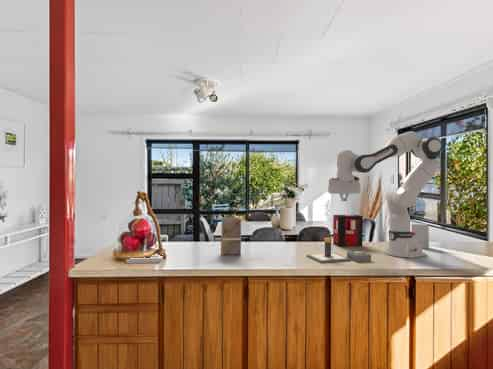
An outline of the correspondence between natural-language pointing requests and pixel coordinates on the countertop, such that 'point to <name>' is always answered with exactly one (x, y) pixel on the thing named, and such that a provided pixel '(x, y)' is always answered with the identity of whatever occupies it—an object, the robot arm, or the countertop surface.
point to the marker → (327, 247)
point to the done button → (358, 253)
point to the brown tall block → (231, 236)
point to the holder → (146, 259)
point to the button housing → (359, 257)
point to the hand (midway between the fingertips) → (344, 201)
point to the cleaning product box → (347, 230)
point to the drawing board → (328, 258)
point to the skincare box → (421, 234)
